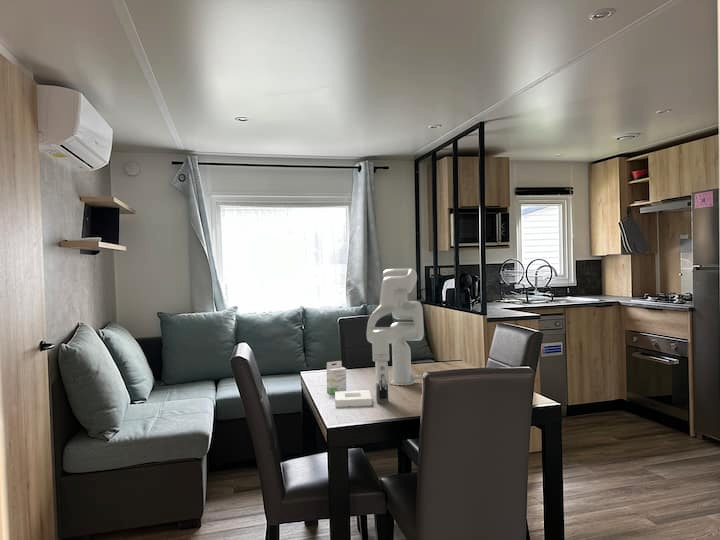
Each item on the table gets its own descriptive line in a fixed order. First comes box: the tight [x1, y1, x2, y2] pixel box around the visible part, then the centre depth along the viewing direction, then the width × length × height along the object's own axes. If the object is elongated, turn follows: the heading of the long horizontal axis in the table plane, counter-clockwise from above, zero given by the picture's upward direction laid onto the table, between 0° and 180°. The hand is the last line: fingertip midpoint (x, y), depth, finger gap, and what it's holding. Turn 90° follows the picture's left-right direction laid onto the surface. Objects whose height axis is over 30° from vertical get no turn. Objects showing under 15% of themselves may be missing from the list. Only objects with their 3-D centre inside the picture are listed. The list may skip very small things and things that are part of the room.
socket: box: [334, 389, 373, 408], centre depth 230 cm, size 16×16×3 cm
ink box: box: [326, 360, 347, 395], centre depth 249 cm, size 9×5×15 cm, turn 118°
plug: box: [375, 382, 390, 405], centre depth 228 cm, size 5×5×10 cm
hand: (382, 396), depth 228 cm, fingers open, 8 cm apart
